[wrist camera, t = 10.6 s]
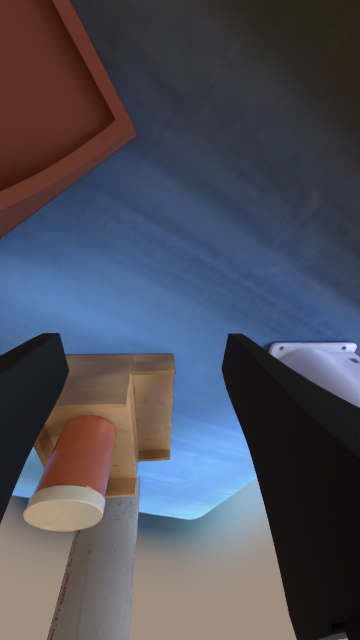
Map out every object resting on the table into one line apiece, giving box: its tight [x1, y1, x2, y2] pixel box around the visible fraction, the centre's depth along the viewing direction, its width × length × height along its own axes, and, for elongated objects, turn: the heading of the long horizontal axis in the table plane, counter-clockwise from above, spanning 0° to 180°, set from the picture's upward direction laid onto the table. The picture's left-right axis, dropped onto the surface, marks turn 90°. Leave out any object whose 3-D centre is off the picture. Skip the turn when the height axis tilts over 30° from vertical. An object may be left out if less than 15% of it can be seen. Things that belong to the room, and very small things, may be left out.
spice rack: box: [34, 354, 175, 498], centre depth 22 cm, size 12×15×6 cm
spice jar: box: [23, 415, 117, 531], centre depth 16 cm, size 5×5×6 cm
